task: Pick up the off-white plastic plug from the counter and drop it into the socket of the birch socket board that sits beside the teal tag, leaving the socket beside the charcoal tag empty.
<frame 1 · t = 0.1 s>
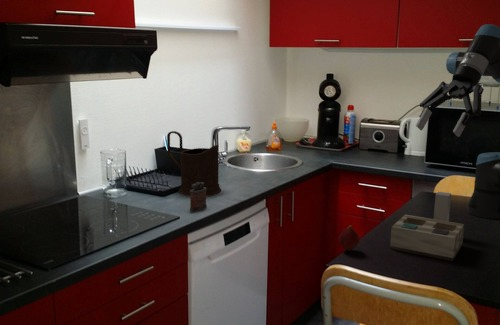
hand: (436, 131, 156), 36 cm above the table, tool tilted 35°, fingers open, 13 cm apart
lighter: (198, 209, 199), on the table
onion: (348, 251, 158), on the table
socket board: (426, 247, 161), on the table
plug: (439, 235, 172), on the table
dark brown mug: (194, 190, 226), on the table
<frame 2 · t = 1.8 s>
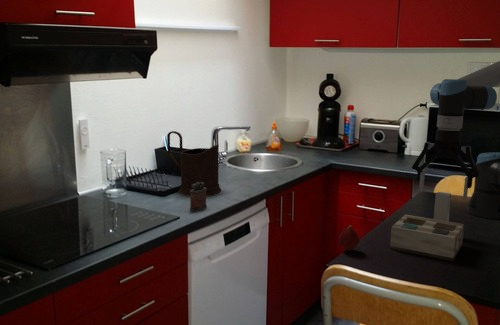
hand: (442, 194, 170), 14 cm above the table, tool pointing down, fingers open, 13 cm apart
nothing on the table moved.
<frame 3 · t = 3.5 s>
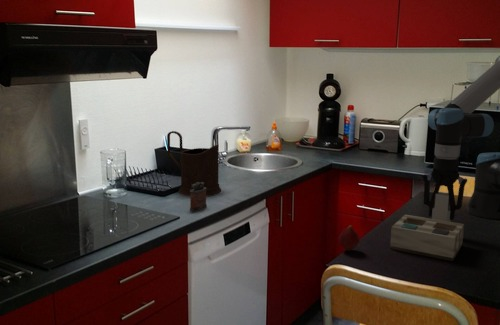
hand: (440, 227, 172), 3 cm above the table, tool pointing down, fingers closed on plug, 4 cm apart
plug: (439, 235, 172), on the table, touching gripper
everything else where it was.
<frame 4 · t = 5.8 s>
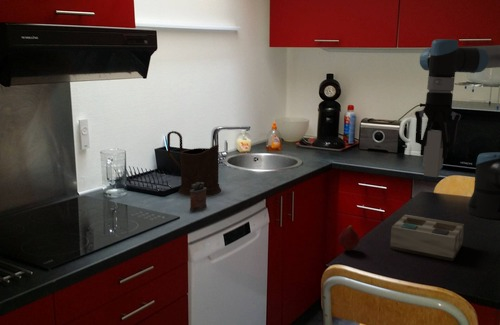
hand: (432, 167, 164), 23 cm above the table, tool pointing down, fingers closed on plug, 4 cm apart
plug: (431, 175, 165), point 21 cm above the table, touching gripper
everything else where it was.
when the fingers open (9 cm above the table, at t = 8.4 s): plug drops 5 cm, resting on socket board.
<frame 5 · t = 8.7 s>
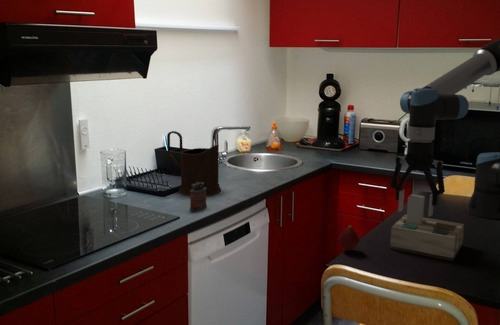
hand: (415, 212, 163), 10 cm above the table, tool pointing down, fingers open, 8 cm apart
plug: (413, 240, 165), point 1 cm above the table, touching socket board
everything else where it was.
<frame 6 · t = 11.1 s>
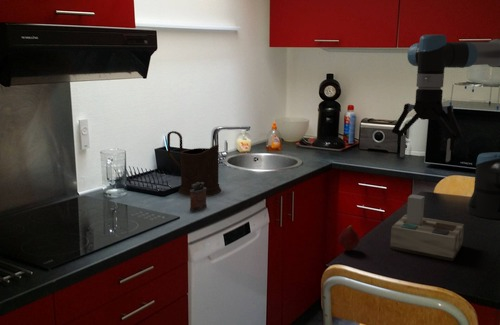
hand: (424, 158, 161), 27 cm above the table, tool pointing down, fingers open, 13 cm apart
nothing on the table moved.
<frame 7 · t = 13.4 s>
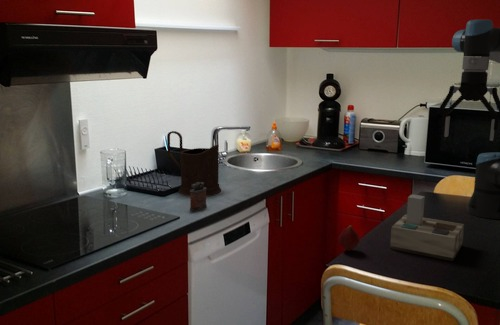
hand: (468, 138, 169), 32 cm above the table, tool pointing down, fingers open, 13 cm apart
nothing on the table moved.
at the end: plug 0.0 cm from the target spot on the socket board, point 1.0 cm above the socket board's base; plug tilted 0° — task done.
